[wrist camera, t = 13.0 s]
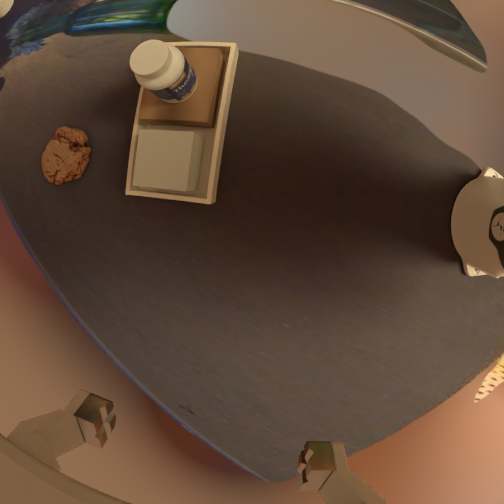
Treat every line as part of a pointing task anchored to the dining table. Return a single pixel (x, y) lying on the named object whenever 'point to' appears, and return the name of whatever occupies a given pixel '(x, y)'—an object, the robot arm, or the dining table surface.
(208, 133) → the box
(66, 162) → the cookie
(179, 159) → the pale green block
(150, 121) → the walnut block
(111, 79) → the dining table surface
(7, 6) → the cup
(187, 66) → the pill bottle
